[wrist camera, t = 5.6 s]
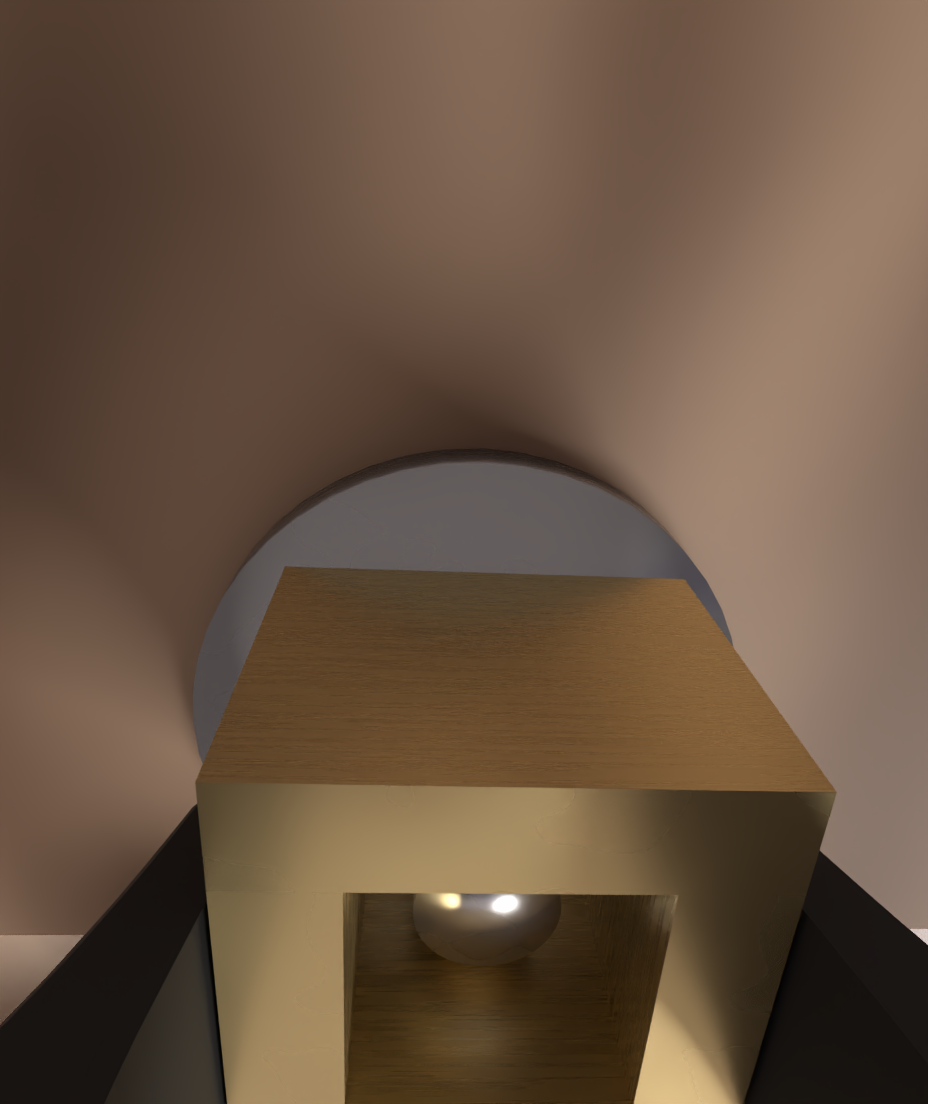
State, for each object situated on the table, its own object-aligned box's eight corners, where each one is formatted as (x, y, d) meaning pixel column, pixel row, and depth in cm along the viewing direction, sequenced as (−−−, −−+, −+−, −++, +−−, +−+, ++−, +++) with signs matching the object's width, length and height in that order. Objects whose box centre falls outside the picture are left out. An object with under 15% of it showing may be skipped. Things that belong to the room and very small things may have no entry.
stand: (763, 457, 11) (949, 580, 7) (678, 888, 14) (776, 1141, 10) (184, 438, 10) (43, 561, 7) (225, 891, 14) (146, 1156, 10)
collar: (684, 578, 10) (837, 791, 6) (630, 878, 12) (722, 1176, 8) (284, 566, 10) (195, 782, 6) (297, 875, 12) (235, 1183, 8)
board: (1515, -330, 9) (1591, -369, 8) (1008, 902, 15) (1030, 927, 15) (-428, -534, 7) (-497, -595, 7) (-44, 907, 14) (-63, 934, 14)
